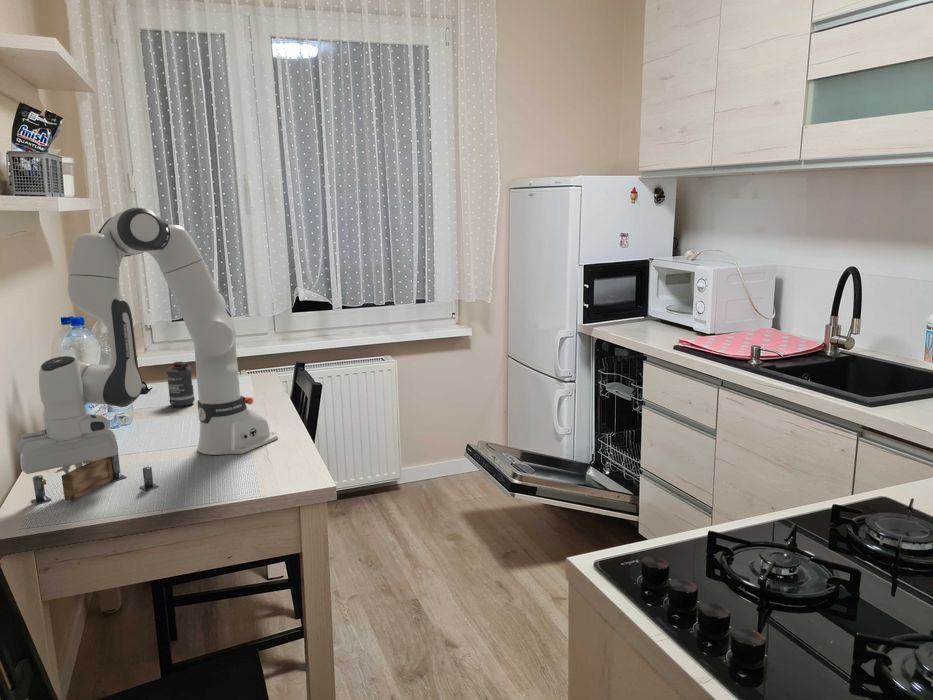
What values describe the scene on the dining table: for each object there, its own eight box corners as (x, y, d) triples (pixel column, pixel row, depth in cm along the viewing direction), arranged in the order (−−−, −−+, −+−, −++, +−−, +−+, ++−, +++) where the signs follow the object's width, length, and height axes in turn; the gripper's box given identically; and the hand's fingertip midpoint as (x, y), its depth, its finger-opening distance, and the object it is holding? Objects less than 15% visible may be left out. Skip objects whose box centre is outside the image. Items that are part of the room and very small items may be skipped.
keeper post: (152, 483, 172) (150, 464, 171) (158, 486, 170) (156, 467, 169) (139, 487, 170) (137, 468, 169) (145, 491, 168) (143, 471, 167)
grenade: (200, 403, 242) (196, 361, 239) (181, 409, 235) (177, 366, 232) (183, 400, 246) (179, 359, 243) (164, 406, 239) (160, 363, 236)
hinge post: (119, 474, 179) (115, 441, 177) (126, 477, 176) (122, 444, 175) (105, 478, 176) (101, 445, 174) (111, 482, 174) (107, 448, 172)
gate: (108, 478, 175) (105, 455, 173) (113, 478, 174) (110, 455, 173) (64, 500, 161) (61, 475, 160) (70, 501, 161) (67, 476, 160)
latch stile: (45, 496, 165) (42, 473, 164) (51, 500, 163) (47, 476, 162) (31, 501, 163) (27, 477, 162) (36, 504, 161) (32, 480, 160)
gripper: (16, 439, 155) (25, 496, 158) (116, 420, 167) (122, 474, 170) (13, 432, 160) (21, 488, 163) (110, 414, 172) (116, 467, 175)
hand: (74, 481), depth 167 cm, fingers closed
